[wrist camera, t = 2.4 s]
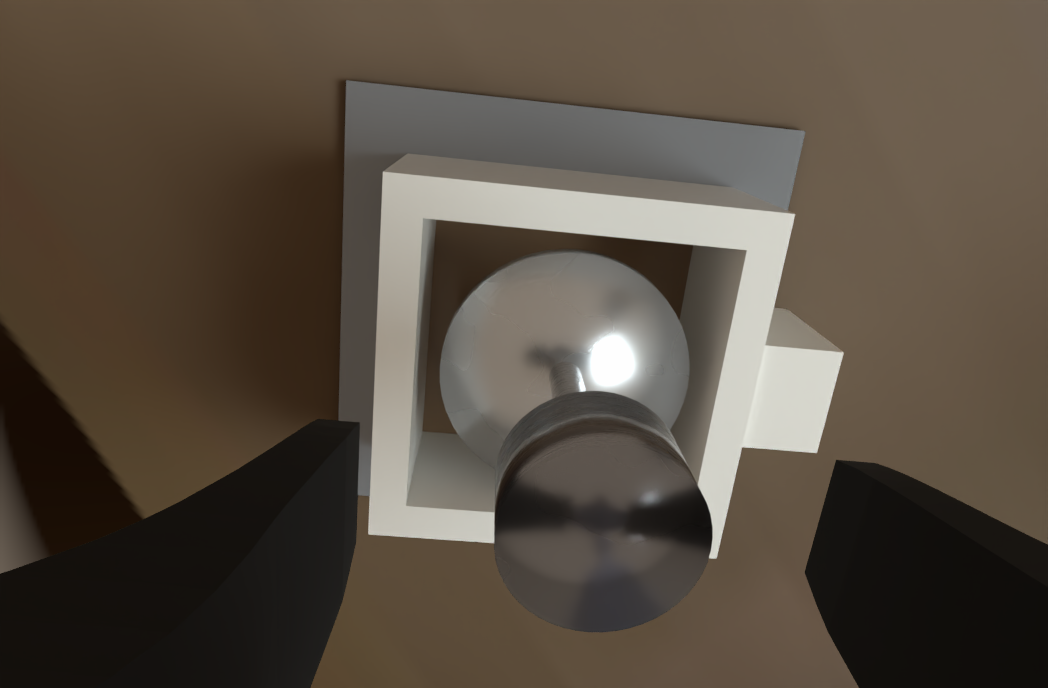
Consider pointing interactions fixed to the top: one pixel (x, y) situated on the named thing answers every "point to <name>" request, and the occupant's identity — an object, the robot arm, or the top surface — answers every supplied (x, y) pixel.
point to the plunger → (580, 437)
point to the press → (547, 224)
